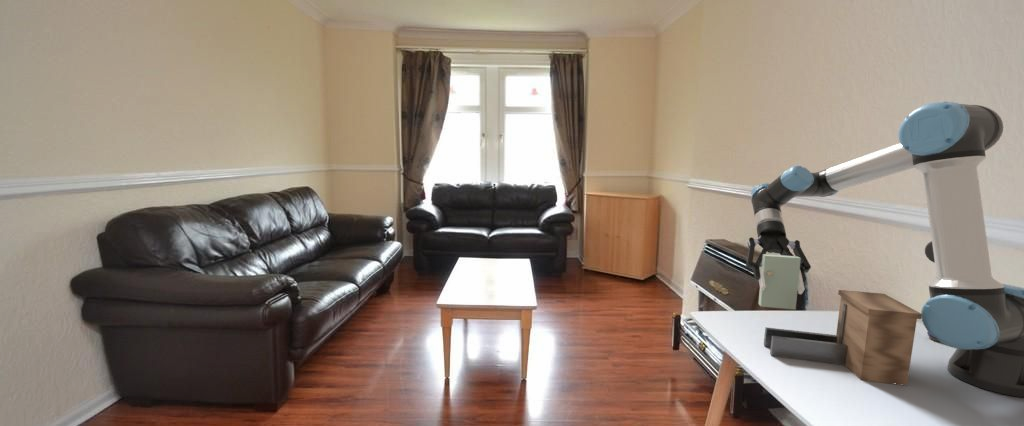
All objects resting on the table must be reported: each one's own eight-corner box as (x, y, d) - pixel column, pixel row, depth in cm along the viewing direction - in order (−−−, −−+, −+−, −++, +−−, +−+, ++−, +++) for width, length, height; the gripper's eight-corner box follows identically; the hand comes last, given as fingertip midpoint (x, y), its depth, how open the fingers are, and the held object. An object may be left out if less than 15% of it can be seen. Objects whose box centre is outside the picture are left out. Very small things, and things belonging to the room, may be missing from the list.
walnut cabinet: (875, 358, 113) (884, 293, 111) (910, 387, 99) (921, 314, 97) (830, 352, 116) (838, 289, 114) (859, 380, 102) (868, 308, 99)
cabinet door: (792, 306, 128) (797, 256, 126) (796, 310, 125) (801, 258, 123) (758, 303, 130) (762, 254, 128) (761, 307, 127) (765, 256, 125)
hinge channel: (833, 353, 116) (835, 334, 115) (845, 365, 109) (847, 345, 108) (763, 344, 120) (765, 327, 119) (771, 355, 113) (773, 337, 113)
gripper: (805, 235, 137) (821, 300, 124) (729, 231, 143) (737, 293, 130) (813, 221, 132) (831, 287, 118) (734, 217, 137) (742, 280, 124)
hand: (782, 290), depth 124 cm, fingers closed on cabinet door, 9 cm apart
